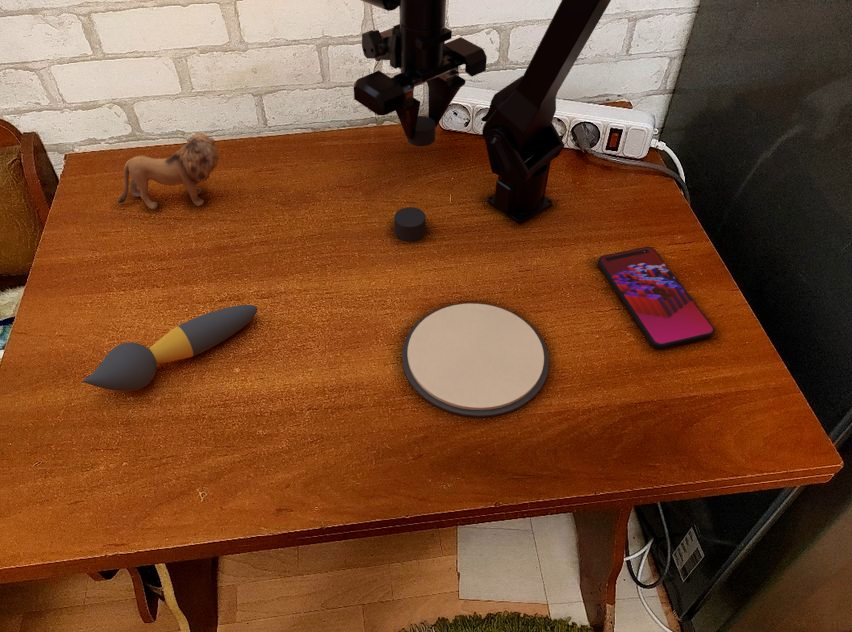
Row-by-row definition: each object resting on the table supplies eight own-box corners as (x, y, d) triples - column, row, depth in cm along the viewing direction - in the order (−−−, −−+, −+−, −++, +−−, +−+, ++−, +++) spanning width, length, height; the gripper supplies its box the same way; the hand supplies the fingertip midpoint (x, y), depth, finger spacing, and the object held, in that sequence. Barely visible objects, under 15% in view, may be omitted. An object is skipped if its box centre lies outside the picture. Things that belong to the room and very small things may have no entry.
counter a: (422, 127, 99) (423, 112, 98) (440, 139, 97) (441, 124, 96) (401, 137, 98) (401, 122, 96) (419, 149, 96) (419, 134, 94)
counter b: (412, 217, 91) (412, 202, 89) (431, 232, 89) (432, 217, 87) (388, 230, 89) (387, 215, 87) (407, 245, 87) (407, 231, 85)
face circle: (478, 285, 82) (479, 279, 82) (579, 365, 74) (581, 359, 73) (372, 349, 76) (372, 344, 75) (470, 444, 68) (471, 439, 67)
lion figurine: (227, 180, 96) (213, 123, 90) (229, 203, 93) (214, 145, 86) (119, 195, 95) (97, 137, 88) (118, 219, 91) (94, 161, 84)
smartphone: (655, 346, 74) (595, 256, 84) (653, 352, 75) (593, 261, 84) (719, 332, 76) (652, 244, 85) (716, 337, 76) (650, 250, 86)
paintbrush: (240, 298, 81) (231, 267, 77) (265, 320, 79) (258, 290, 75) (86, 392, 73) (68, 362, 69) (109, 420, 70) (91, 391, 66)
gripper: (436, -21, 93) (434, 87, 105) (323, 20, 85) (334, 131, 97) (494, 7, 87) (484, 118, 99) (378, 52, 80) (382, 166, 92)
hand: (421, 132), depth 97 cm, fingers closed on counter a, 4 cm apart
